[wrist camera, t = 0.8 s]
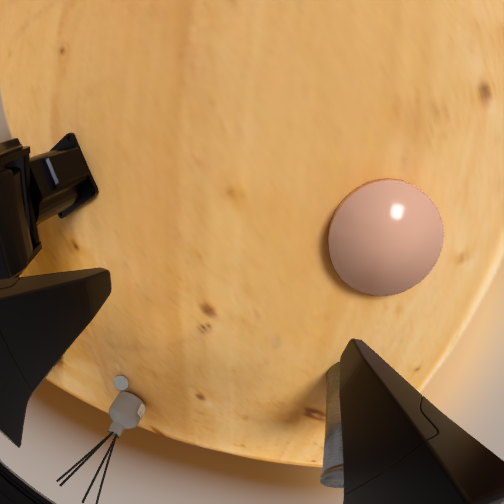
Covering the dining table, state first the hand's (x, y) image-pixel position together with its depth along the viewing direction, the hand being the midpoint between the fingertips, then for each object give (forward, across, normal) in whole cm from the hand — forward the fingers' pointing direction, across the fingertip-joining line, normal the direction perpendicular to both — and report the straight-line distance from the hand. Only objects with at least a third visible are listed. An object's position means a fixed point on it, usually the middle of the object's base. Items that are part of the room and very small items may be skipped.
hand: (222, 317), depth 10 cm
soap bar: (+12, +9, 0) cm, 15 cm away
